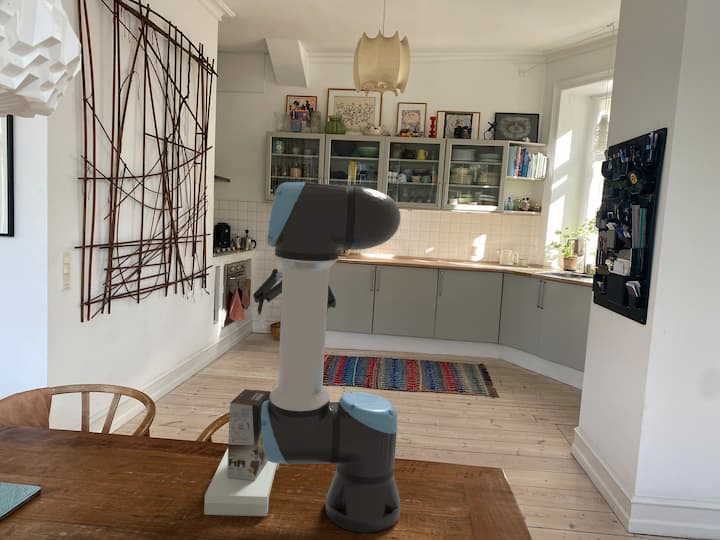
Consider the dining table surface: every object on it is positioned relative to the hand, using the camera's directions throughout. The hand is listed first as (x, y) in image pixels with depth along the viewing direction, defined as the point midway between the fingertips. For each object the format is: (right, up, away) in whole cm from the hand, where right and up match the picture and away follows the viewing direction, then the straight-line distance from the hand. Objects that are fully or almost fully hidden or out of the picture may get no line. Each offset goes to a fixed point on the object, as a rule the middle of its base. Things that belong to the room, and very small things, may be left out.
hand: (289, 327), depth 114 cm
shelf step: (-8, -33, -10) cm, 36 cm away
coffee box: (-7, -29, -10) cm, 32 cm away
